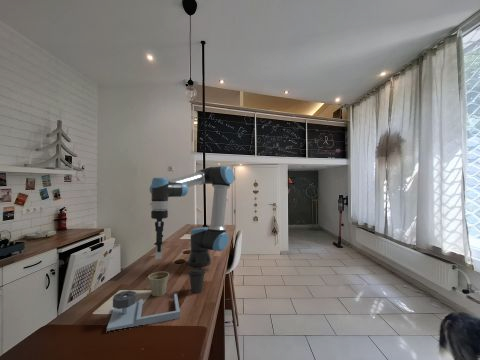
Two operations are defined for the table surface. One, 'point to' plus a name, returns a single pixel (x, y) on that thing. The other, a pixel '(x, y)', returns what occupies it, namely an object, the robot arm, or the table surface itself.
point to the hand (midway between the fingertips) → (158, 254)
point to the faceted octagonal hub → (124, 299)
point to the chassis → (139, 316)
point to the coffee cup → (196, 280)
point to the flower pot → (158, 283)
